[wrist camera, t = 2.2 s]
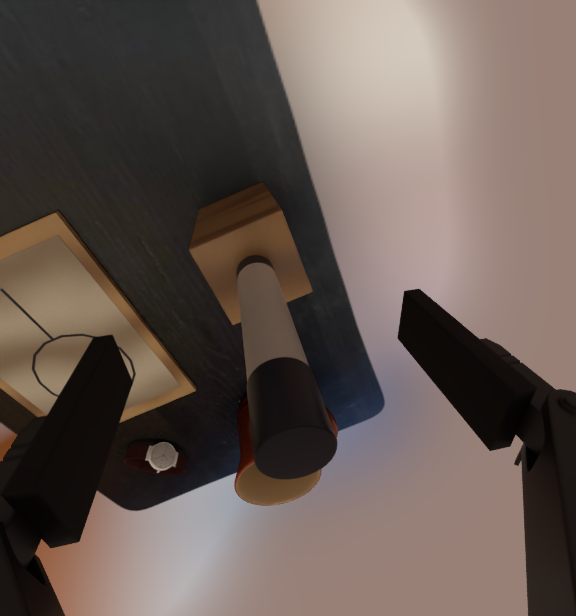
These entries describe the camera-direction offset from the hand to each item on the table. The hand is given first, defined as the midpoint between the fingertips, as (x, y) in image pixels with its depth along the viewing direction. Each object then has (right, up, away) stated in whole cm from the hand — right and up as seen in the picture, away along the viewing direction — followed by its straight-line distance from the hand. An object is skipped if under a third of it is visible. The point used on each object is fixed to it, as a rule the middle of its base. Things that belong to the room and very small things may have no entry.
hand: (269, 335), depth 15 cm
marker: (-1, +4, +6) cm, 7 cm away
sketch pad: (-21, -3, +17) cm, 27 cm away
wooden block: (-3, +9, +14) cm, 17 cm away
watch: (-16, -17, +27) cm, 36 cm away
